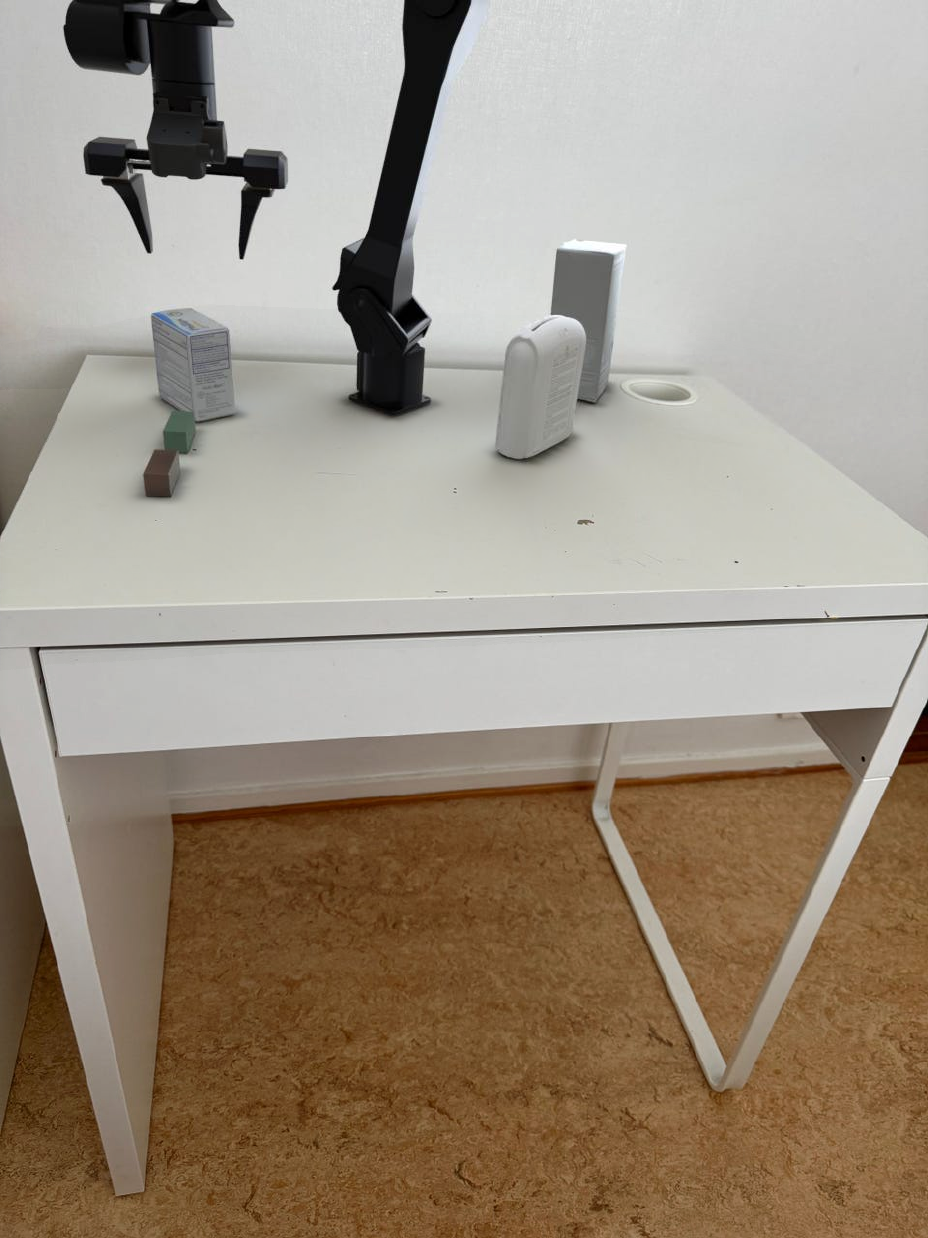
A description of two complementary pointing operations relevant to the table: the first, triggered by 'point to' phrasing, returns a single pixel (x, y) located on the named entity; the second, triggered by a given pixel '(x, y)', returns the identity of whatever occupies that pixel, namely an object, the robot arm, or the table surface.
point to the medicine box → (193, 363)
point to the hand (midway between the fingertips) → (196, 255)
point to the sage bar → (179, 431)
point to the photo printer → (540, 386)
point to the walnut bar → (161, 473)
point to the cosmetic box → (590, 303)
